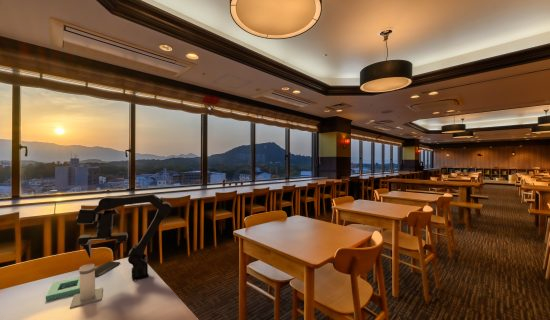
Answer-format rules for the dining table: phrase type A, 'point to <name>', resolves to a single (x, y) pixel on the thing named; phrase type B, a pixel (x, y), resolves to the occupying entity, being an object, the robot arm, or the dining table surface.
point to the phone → (105, 268)
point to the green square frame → (57, 293)
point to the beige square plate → (78, 302)
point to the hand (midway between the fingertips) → (102, 256)
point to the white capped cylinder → (87, 281)
